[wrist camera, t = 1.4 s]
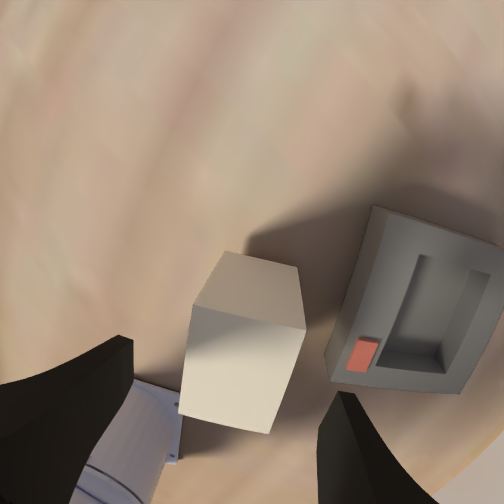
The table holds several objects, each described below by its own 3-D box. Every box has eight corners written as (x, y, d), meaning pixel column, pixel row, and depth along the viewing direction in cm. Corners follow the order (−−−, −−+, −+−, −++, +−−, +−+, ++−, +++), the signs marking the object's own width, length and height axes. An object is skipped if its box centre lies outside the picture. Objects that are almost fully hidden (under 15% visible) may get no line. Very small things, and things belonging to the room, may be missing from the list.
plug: (296, 260, 19) (306, 330, 11) (273, 340, 20) (268, 434, 12) (228, 245, 19) (193, 304, 11) (212, 326, 20) (178, 413, 13)
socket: (496, 245, 17) (524, 259, 14) (444, 370, 20) (461, 396, 17) (372, 204, 18) (391, 213, 14) (324, 354, 20) (330, 384, 17)
